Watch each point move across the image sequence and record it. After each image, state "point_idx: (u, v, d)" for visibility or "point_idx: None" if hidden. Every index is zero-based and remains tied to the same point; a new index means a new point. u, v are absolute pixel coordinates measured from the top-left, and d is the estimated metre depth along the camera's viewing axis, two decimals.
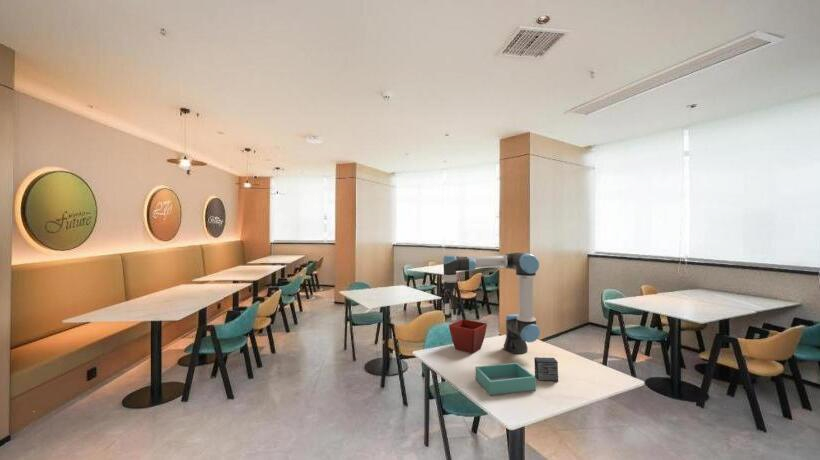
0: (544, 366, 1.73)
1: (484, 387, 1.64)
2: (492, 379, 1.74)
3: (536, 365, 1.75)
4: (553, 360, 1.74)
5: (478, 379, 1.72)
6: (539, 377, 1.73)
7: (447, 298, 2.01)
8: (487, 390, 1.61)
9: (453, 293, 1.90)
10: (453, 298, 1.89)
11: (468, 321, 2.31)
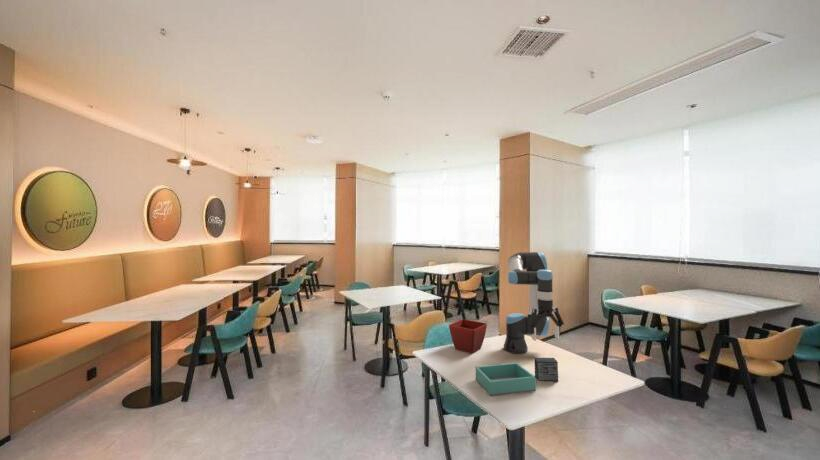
0: (544, 366, 1.73)
1: (484, 387, 1.64)
2: (492, 379, 1.74)
3: (536, 365, 1.75)
4: (553, 360, 1.74)
5: (478, 379, 1.72)
6: (539, 377, 1.73)
7: (552, 318, 1.77)
8: (487, 390, 1.61)
9: (533, 310, 1.75)
10: (531, 315, 1.75)
11: (468, 321, 2.31)
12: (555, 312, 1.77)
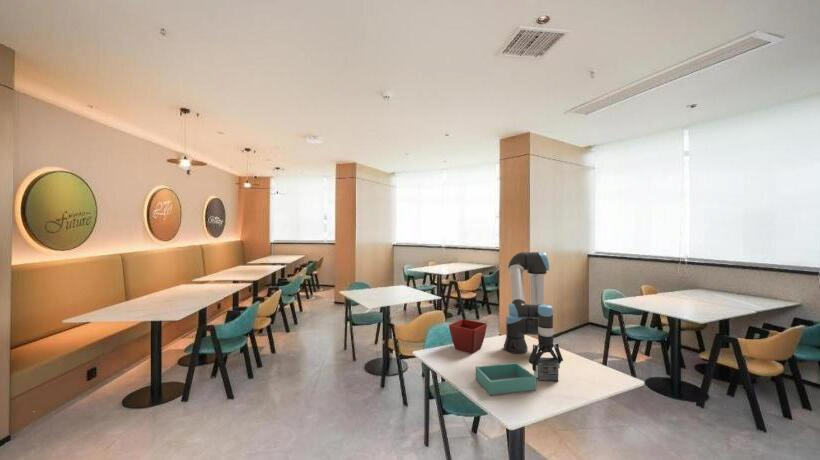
0: (544, 366, 1.73)
1: (484, 387, 1.64)
2: (492, 379, 1.74)
3: None
4: (553, 360, 1.74)
5: (478, 379, 1.72)
6: (539, 377, 1.73)
7: (552, 354, 1.77)
8: (487, 390, 1.61)
9: (533, 347, 1.75)
10: (532, 351, 1.75)
11: (468, 321, 2.31)
12: (555, 348, 1.77)
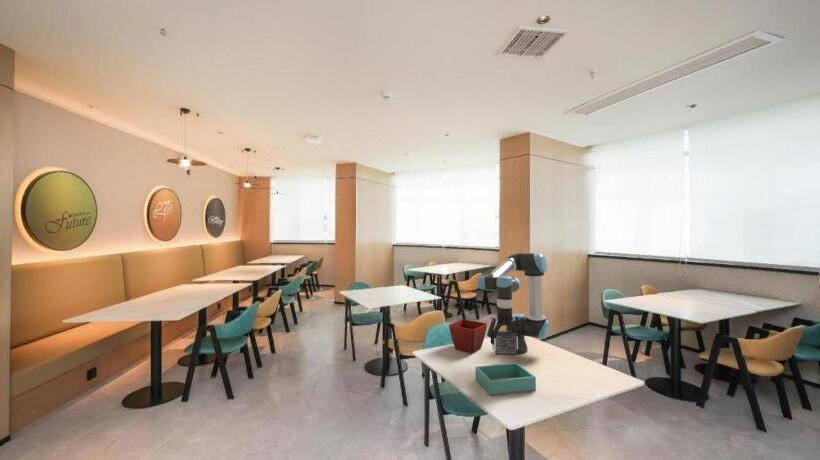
0: (502, 339, 1.66)
1: (484, 387, 1.64)
2: (492, 379, 1.74)
3: None
4: (512, 333, 1.67)
5: (478, 379, 1.72)
6: (497, 350, 1.67)
7: (511, 328, 1.70)
8: (487, 390, 1.61)
9: (492, 319, 1.68)
10: (490, 324, 1.68)
11: (468, 321, 2.31)
12: (515, 321, 1.70)
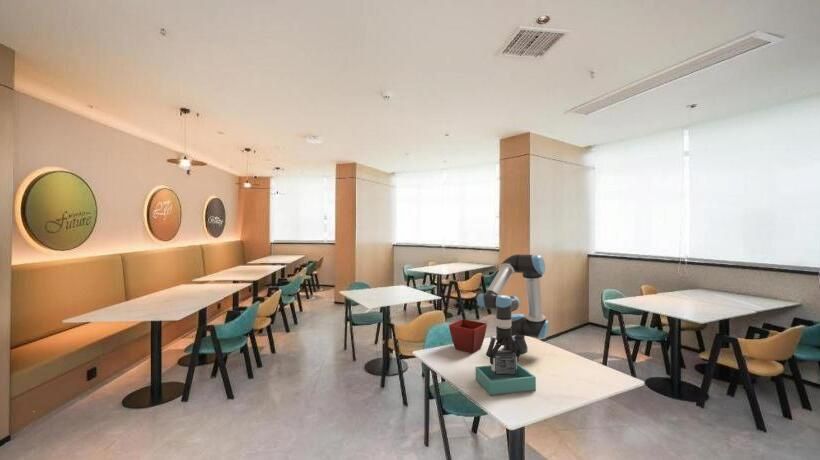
0: (501, 359, 1.66)
1: (484, 387, 1.64)
2: (492, 379, 1.74)
3: None
4: (511, 353, 1.67)
5: (478, 379, 1.72)
6: (496, 371, 1.66)
7: (510, 347, 1.70)
8: (487, 390, 1.61)
9: (491, 339, 1.68)
10: (490, 344, 1.68)
11: (468, 321, 2.31)
12: (514, 340, 1.70)
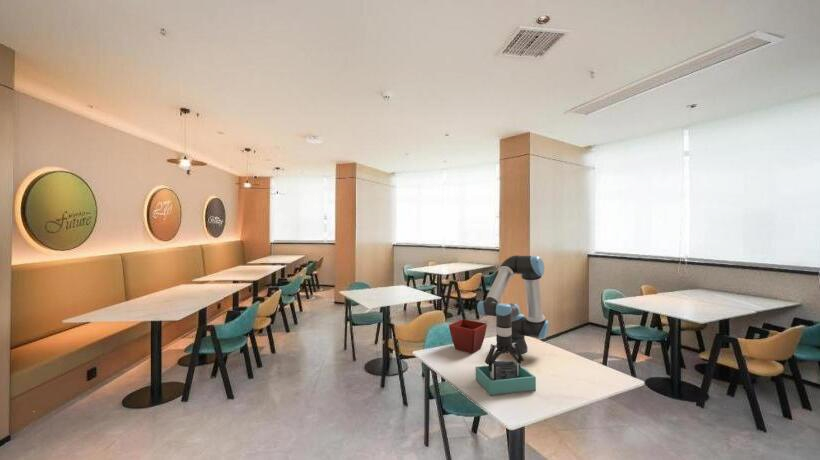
0: (502, 370, 1.66)
1: (484, 387, 1.64)
2: (492, 379, 1.74)
3: (494, 369, 1.69)
4: (511, 364, 1.67)
5: (478, 379, 1.72)
6: None
7: None
8: (487, 390, 1.61)
9: (491, 346, 1.68)
10: (489, 351, 1.68)
11: (468, 321, 2.31)
12: (514, 348, 1.70)
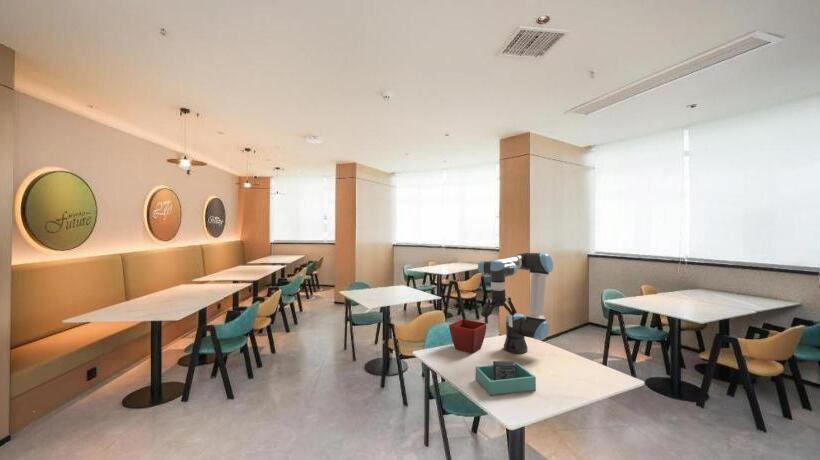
0: (502, 370, 1.66)
1: (484, 387, 1.64)
2: (492, 379, 1.74)
3: (494, 369, 1.69)
4: (511, 364, 1.67)
5: (478, 379, 1.72)
6: None
7: (505, 308, 1.83)
8: (487, 390, 1.61)
9: (486, 300, 1.80)
10: (485, 305, 1.80)
11: (468, 321, 2.31)
12: (508, 301, 1.83)
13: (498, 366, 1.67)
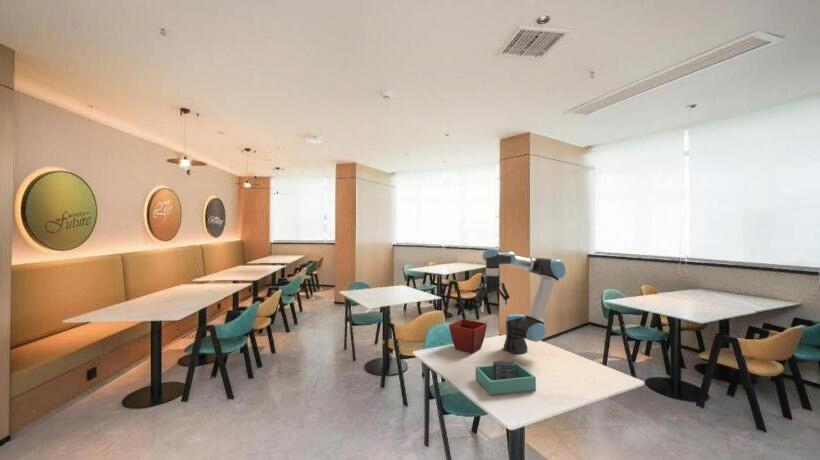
0: (502, 370, 1.66)
1: (484, 387, 1.64)
2: (492, 379, 1.74)
3: (494, 369, 1.69)
4: (511, 364, 1.67)
5: (478, 379, 1.72)
6: None
7: (499, 293, 1.96)
8: (487, 390, 1.61)
9: (481, 285, 1.94)
10: (480, 289, 1.94)
11: (468, 321, 2.31)
12: (502, 287, 1.96)
13: (498, 366, 1.67)
